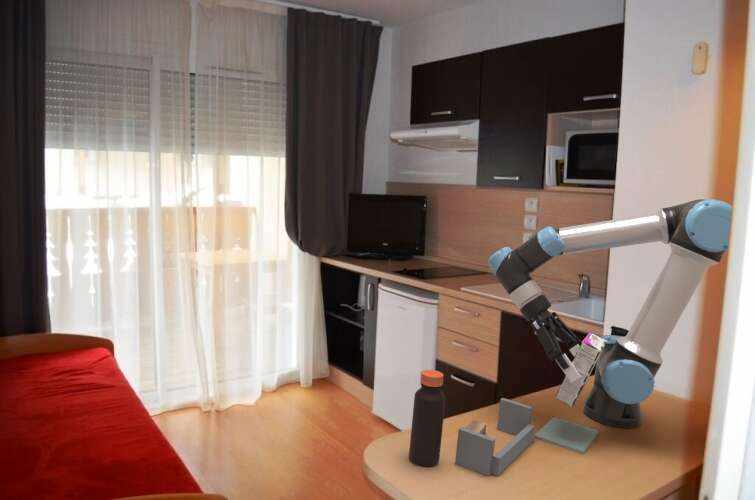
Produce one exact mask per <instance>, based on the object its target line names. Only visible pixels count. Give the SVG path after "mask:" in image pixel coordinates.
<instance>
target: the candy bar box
mask: <svg viewBox="0 0 755 500" xmlns="http://www.w3.org/2000/svg"><path fill="white" fill-rule="evenodd" d="M606 343H607V341H606V340H604V339H602V338H601V336H599V335H597V334H594V333H592V332H588V333H587V335H586V337H585V338H584V339H583V340H581V342H580V344H579V346H580V347H579V349H578V351H577V353H576V355H575V357H574V356H573V360H572V361H571V363H572V364H573V366H574V367H575V368H576V370H577V371H578V373H579V374H580V375H581V377H580V378H579V379H577V380H575V381H574V382H572V383H571V382H570V380H569V379H568V377H567V376H566V375H565V376H564V377H563V380H562V382H561V384H560V386H559V388H558V390H557V392H556V394H555V397H554V399H557V400H558V401H560V402H561V403H563V404H565V405H567V406H569V407H571V408H574V406H575V404H576V402H577V401H578V399H579V398H580V396H581V394H582V392H583V389H584V388H585V386H586V383H587V382H588V380H589V378H590V377H591V374H592V372H593V370H594V368H595V367H596V363H597V360H598V358H599V356H600V354H601V353H602V351H603V349H604V347H605V345H606Z"/></svg>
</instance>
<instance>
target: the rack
mask: <svg viewBox="0 0 755 500" xmlns="http://www.w3.org/2000/svg"><path fill="white" fill-rule="evenodd" d="M498 408H499V409H498V417H497V424H496V425H497V427H496V430H498V429H499V430H498V431H501V430H502V431H501V432H504V433H507V434H510V435H513V436H514V437H513V438H512V439H510V441H509V442H507V443H506V444H505V445H503V447H502V448H500V450H499V451H497V452H496V453H495V452H494V451H495V444H496V438H495V437H492V436H489V435H487V436H486V435H483V434H481V433H478V432H475V431H472V430H469V429H466V428H465V427H464V426H461V427H459V428H458V432H457V439H456V440H457V442H456V451H455V459H454V463H455V464H457V465H459V466H462V467H464V468H467V469H469V470H471V471H474V472H476V473H479V474H481V475H484V476H487V477H490V475H494V476H497V477H498V476H499V475H501V474H502V473H503V472H504V471H505V470H506V469H507V467H509V466H510V465H511V464H512V463H513V462H514V460H516V459H517V458H518V457H519V456H520V455H521V454H522V453H523V452H524V451H525V450H526V449H527V448H528V447H529V446H530V445H531V444H532V443H533V442H534V438H535V427H536V426H535V425H533V424H532V418H533V412H534V411H533V409H534V407H533V406H530V405H528V404H524V403H522V402H517V401H516V400H515V401H514V400H511V399H509V398H505V397H502V398H500V401H499V407H498ZM494 453H495V454H494Z"/></svg>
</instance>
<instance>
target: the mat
mask: <svg viewBox="0 0 755 500" xmlns="http://www.w3.org/2000/svg"><path fill="white" fill-rule="evenodd" d="M599 433H600V431H599V430H597V429H593V428H589V427H587V426H583V425H581V424H578V423H574V422H570V421H567V420H564V419H561V418H557V417H555V416H553V417H552V418H551V419H549V421H548V422H546V424H545V425H543V426H542V427H541V428H540V429H539V430H538V431H537V432H536V433H534V439H535V438H536V439H538V440H540V441H541V440H542V441H544V442H547V443H550V444H553V445H555V446H558V447H561V448H562V447H563V448H565V449H568V450H570V451H574V452H577V453H580V454H582V455H583V454H584V453H585V452H586V451H587V450H588V449H589V447H590V446H591V445H592V443H593V442H594V440H595V439H596V438H597V436H598V435H599Z"/></svg>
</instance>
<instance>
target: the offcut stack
mask: <svg viewBox="0 0 755 500" xmlns="http://www.w3.org/2000/svg"><path fill="white" fill-rule="evenodd" d="M464 428H466V429H469V430H472V431H475V432H478V433H481V434H483V435H486V436H488V433H486V431H487V423H486V422H482V421H479V420H476V419H471V420H470V421H469V423H467V424H466V425H465V427H464Z"/></svg>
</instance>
